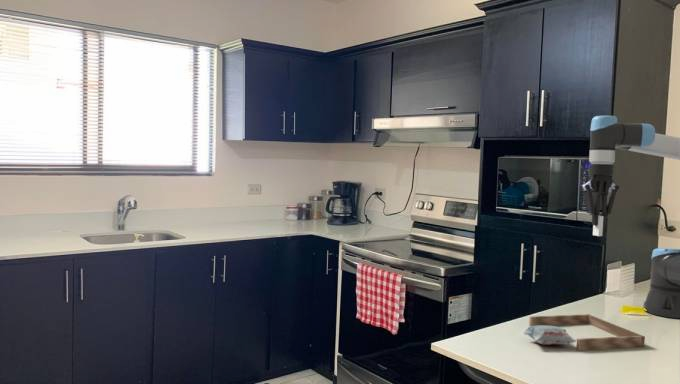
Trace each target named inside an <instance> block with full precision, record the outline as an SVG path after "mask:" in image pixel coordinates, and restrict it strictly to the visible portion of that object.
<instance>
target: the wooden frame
mask: <svg viewBox="0 0 680 384" xmlns="http://www.w3.org/2000/svg"><path fill="white" fill-rule="evenodd" d="M528 324H529V325H528V326H529V327H531V326H535V325H549V326H561V325H562V326H564V325H565V326H566V325H577V324H579V325H581V324H589V325H591V326H593V327H595V328H597V329H599V330H602V331H604V332H606V333H609V334H610V335H614V336H608V337H586V338H576V339H577V340H576V350H577V351H593V350H596V351H597V350H609V349H611V350H613V349H626V348H627V349H629V348H643V347H645V341H646V339H645V338H646V337H645V336H644V335H642V334H639V333H637V332H634V331H631V330H629V329H626V328H624V327H622V326H619V325H616V324H614V323H611V322H609V321H607V320H604V319H602V318H599V317H596V316H593V315H590V314H588V313H586V314H584V313H583V314H562V315H539V316H538V315H537V316H535V315H534V316H529V321H528Z"/></svg>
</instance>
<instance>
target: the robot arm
mask: <svg viewBox="0 0 680 384" xmlns="http://www.w3.org/2000/svg"><path fill="white" fill-rule="evenodd" d="M589 131H590V139H589V155H588V156H589V157H588V162H589V163H590V164H588V171H587V172H588V176H589V177H588V179H587V182H586V183H582V184H581V185H580V187H581V189H582V191H583V195H584V204H585V210H586V213H587V214H589V215H590V216H591V226H592V236H597V237H603V232H604V231H603V230H604V226H605V224H606V217H608V215H610V214H611V213H612V209H613V205H614V203H615V198H616V194H617V192H618V190H619V188H620V186H619V185H618V184H617V185H616V184H615V183H614V180H613V176H614V175H615V165H614V163H615V161H616V160H615V159H616V150H617V149H618V150H623V151H630V152H635V153H640V154H645V155H650V156H657V157H663V158H668V159H672V160H679V161H680V137H679V136H678V137H677V136H674V135H673V136H672V135H668V134H667V135H666V134H661V133H656V129H655V127H654V125H652V124H650V123H644V122H641V123H640V122H639V123H635V122H618V117H617V116H615V115H595V116H593V118H592V119H591V123H590V129H589ZM650 258H651V265H650V266H651V267H650V285H649V290H648V293H647V295H646V299H645V301H643V308H645V309H646V310H647V311H648V312H649V313H648V312H647V313H648V314H652V315H655V316H660V317H665V318H672V319H680V248H663V247H662V248H659V247H658V248H654V249H653V250H652V254H651V257H650ZM643 308H642V309H643Z"/></svg>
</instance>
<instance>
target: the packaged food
mask: <svg viewBox="0 0 680 384" xmlns="http://www.w3.org/2000/svg"><path fill="white" fill-rule="evenodd" d="M523 334H524V336H526V335H527V336H528V337H530V338H531V339H533V341H534V342H537V343H538V344H541V345H546V346H564V345H569V344H573V343H577V339H578V338H575V337H572V336H571V335H570V334H569V333H568V332H567V331H566V329H565V328H561V327H560V326H558V325H551V326H549V325H535V326H529V327H527V328H526V329H525V331H524V333H523Z"/></svg>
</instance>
